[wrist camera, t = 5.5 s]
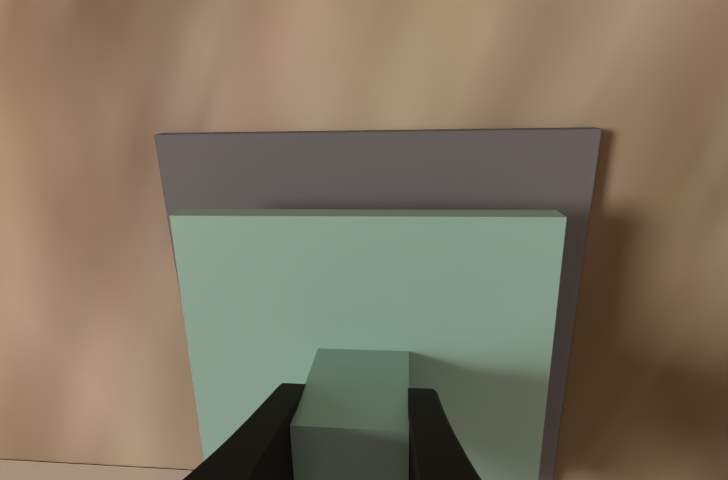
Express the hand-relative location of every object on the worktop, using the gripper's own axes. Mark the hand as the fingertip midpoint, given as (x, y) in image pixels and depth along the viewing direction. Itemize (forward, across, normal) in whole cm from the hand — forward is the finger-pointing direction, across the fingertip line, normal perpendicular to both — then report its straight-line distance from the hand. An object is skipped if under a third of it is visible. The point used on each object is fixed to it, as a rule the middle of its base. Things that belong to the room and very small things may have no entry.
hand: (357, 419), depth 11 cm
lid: (+3, 0, 0) cm, 3 cm away
